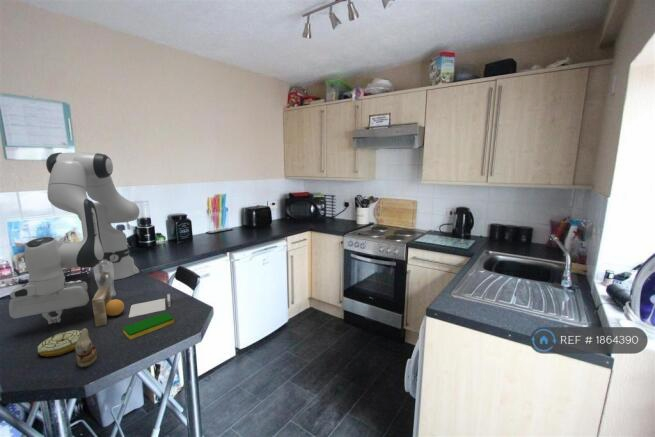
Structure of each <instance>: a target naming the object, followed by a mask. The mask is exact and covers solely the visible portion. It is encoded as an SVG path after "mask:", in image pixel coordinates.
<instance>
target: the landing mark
mask: <svg viewBox="0 0 655 437" xmlns="http://www.w3.org/2000/svg"><path fill="white" fill-rule="evenodd" d="M162 311H166V298H159V299H155V300H151V301H150V300H149V301H146V302H141V303H140V302H139V303H135V304H131V306H130V310H129V314H128V318H129V319H130V318H135V317H139V316H144V315H149V314H153V313H159V312H162Z"/></svg>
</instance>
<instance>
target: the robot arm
mask: <svg viewBox="0 0 655 437" xmlns="http://www.w3.org/2000/svg"><path fill="white" fill-rule="evenodd" d="M45 164H46V169H47V171H48V173H49V174H50V175H49V179H48V184H47V199H48V202H50V204H51V205H52V206H54V207H55V208H57V209H59V210H61V211H65V212H68V213H72V214H74V215H77V217H78V219H79V221H80V223H81V229H82V230H81V231H82V240H81V241H64V242H63V241H58V240H56V238H54V237H53V236H44V237H39V238H33V239H31V240H29V241H27V242H26V243H25V245H24V250H23V251H24V253H23V254H24V255H23V256H24V265H25V269H26V270H27V272H28V279H27V280H28V282H27V283H23V284H22V285H18V286H17V287H15V288H14V289H12V291H10V293H9V296H10V298H11V299H10V300H9V303H8V312H9V316H10V317H11V318H12V319H20V318H25V317H31V316H36V315H40V314H42V315H41V316H42V317H43V318H44V319H45V320H47V323H48V325H51V324H57V323H60V322H61V321H62V319H61V315H62V314H63V311H64V310H69V309H73V308H78V307H83V306H84V307H85V306H86V305H87V304H88V303H89V301H90V298H89V294H88V289H89V288H88V283H87V281H84V280H81V279H80V280H79V279H78V280H75V281H73V280H72V281H66V279H65V273H64V271H63V269H75V268H81V269H82V268H83V269H85V268H86V269H89V268H90V269H92V268H93V267H95V266H96V265H97V264H99V263H100V262H102V261H112V264H113V268H114V281H115V280H116V281H117V280H120V279H121V280H122V279H125V278H128V277H130V276H134V275H136V274H140V272H141V271H140V269H139V268H138V267H137V266H136V264H135V261H134V258H133V257H132V256H130V248H129V247H128V242H127V241H128V240H127V234H126V233H125V232H124V231H122V230H120V229H117V228H115V227H114V226H113V225H112V224H122V223H129V222H132V221H133V222H134V221H136V220H137V219H138V218H139V215H140V208H139V206H138V205H137V204H136V202H134V201H131V200H129V199H127V198H125V197H124V196H123V195H121V194H120V193H119V192H118V190H117V189H116V186H115V184H114V182H113V181H114V180H113V178H112V176H111V175H112V174H113V171H114V166H113V161H112V159H111V158H110V157H109V156H108V155H107V154H105V153H104V154H103V153H99V152H96V153H91V152H81V151H78V152H55V153H51V154H50V155H49V156H47V158H46V163H45ZM89 198H90V199H89ZM93 201H94V202H93ZM93 269H94V268H93ZM53 312H55V313H56V314H57V316H51V315H50V313H53Z"/></svg>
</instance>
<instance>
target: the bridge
mask: <svg viewBox="0 0 655 437" xmlns="http://www.w3.org/2000/svg"><path fill="white" fill-rule="evenodd" d="M111 300H112V297H111V295H110V288H109V285H105V286H99V288H98V289H97V291H96V292H95V294H94V296H93V298H92V299H91V304H92V311H93V317H94V323H95V327H100V326H106V325H107V324H108V318H107V314H106V310H105V305H106V304H107V303H108V302H109V301H111Z"/></svg>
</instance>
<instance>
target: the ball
mask: <svg viewBox="0 0 655 437" xmlns="http://www.w3.org/2000/svg"><path fill="white" fill-rule="evenodd" d="M124 309H125V304H124V302H123V300H120V299H111V301H109V302H108V303H107V304H106V305H105V310H106V315H108V316H111V317H116V316H118V315H120V314H121V313H122V312H123V310H124Z"/></svg>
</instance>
